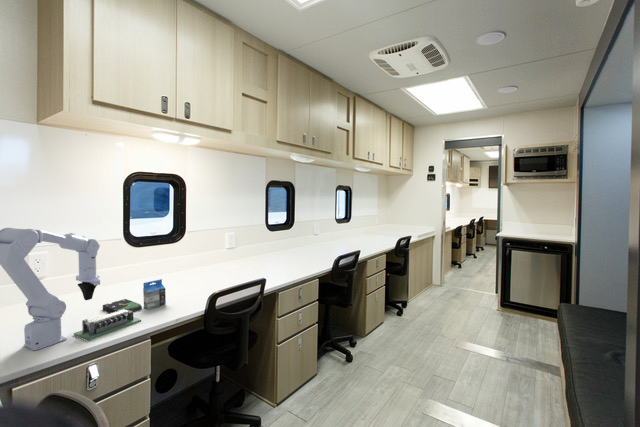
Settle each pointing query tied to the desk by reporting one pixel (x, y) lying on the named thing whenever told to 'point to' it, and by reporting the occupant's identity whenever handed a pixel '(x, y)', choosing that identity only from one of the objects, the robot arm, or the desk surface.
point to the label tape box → (154, 294)
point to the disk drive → (122, 306)
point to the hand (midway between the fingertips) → (88, 299)
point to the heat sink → (104, 324)
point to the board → (130, 321)
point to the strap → (107, 317)
